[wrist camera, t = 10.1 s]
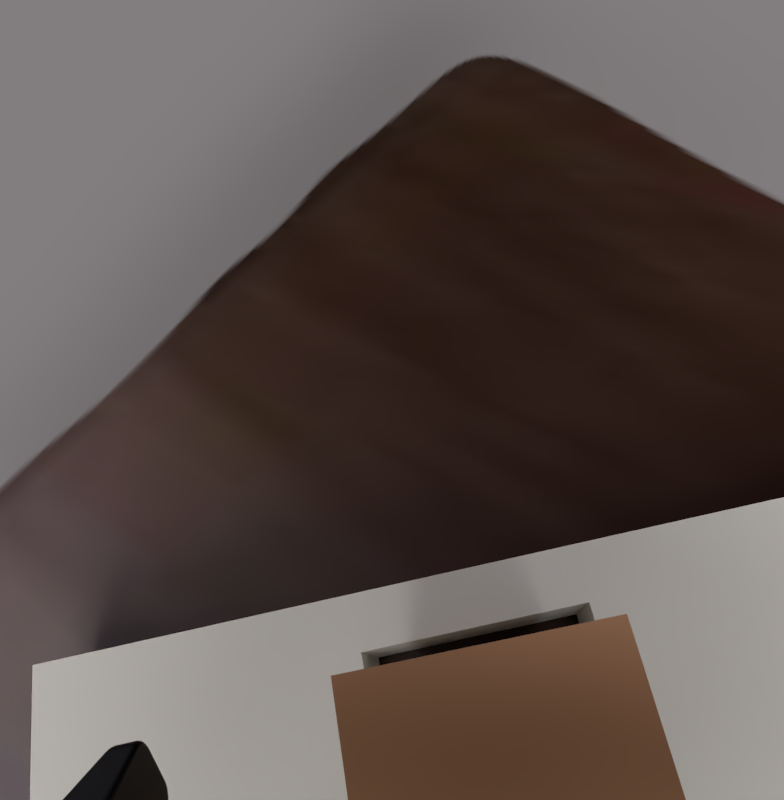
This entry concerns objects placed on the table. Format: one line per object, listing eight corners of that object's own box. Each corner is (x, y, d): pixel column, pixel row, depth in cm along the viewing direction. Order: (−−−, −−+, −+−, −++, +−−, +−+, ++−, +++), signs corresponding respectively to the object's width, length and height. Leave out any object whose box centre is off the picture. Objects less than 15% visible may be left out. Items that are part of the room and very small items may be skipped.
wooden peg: (595, 814, 18) (747, 995, 7) (448, 843, 19) (383, 1060, 8) (553, 657, 20) (626, 614, 9) (419, 685, 20) (330, 676, 9)
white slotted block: (1031, 848, 17) (1135, 877, 14) (95, 1032, 18) (23, 1093, 15) (858, 497, 20) (915, 467, 18) (91, 668, 22) (32, 665, 19)
